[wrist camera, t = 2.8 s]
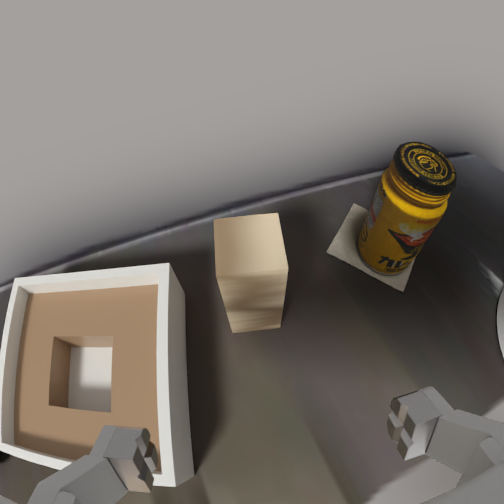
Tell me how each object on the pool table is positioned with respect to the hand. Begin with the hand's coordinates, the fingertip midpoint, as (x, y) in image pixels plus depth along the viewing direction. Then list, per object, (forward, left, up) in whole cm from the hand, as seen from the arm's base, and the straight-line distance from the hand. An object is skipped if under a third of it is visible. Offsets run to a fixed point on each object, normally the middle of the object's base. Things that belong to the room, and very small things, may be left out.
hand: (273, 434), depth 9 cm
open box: (+14, -5, -15) cm, 21 cm away
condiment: (-13, -16, -15) cm, 25 cm away
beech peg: (0, -11, -15) cm, 18 cm away
